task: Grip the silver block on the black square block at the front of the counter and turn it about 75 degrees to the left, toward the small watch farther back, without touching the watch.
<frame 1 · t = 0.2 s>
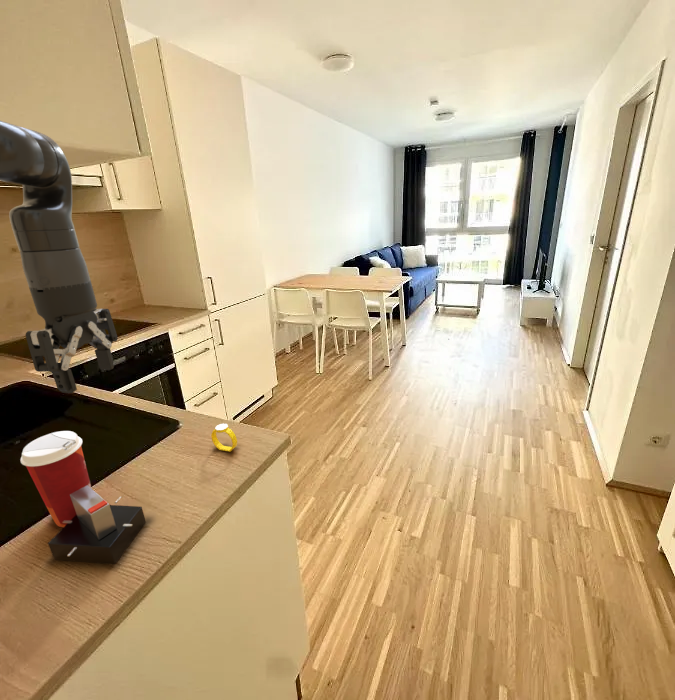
hand: (89, 379, 59), 24 cm above the counter, tool pointing down, fingers open, 8 cm apart
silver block: (92, 510, 56), point 6 cm above the counter, hinge at -30.0°
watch: (226, 450, 81), on the counter
coffee cup: (75, 514, 64), on the counter
black square block: (102, 540, 59), on the counter
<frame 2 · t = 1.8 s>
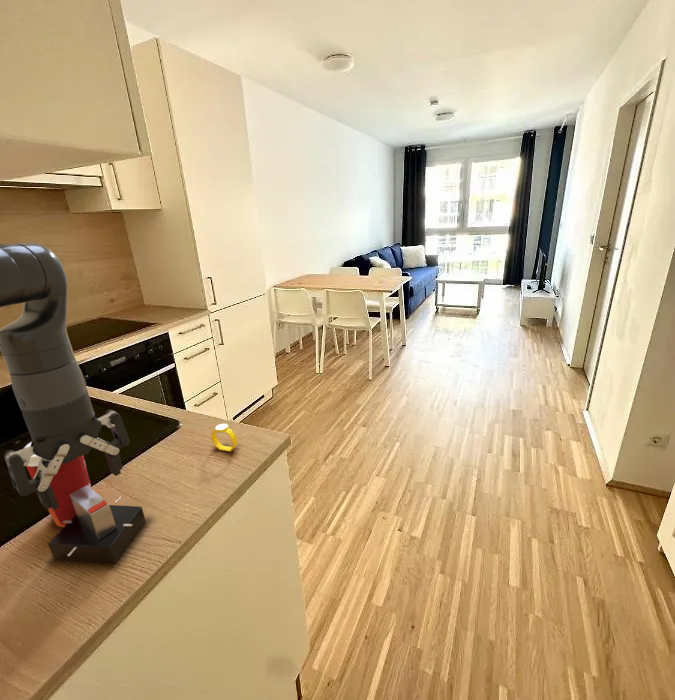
hand: (86, 489, 55), 10 cm above the counter, tool pointing down, fingers open, 8 cm apart
nothing on the counter moved.
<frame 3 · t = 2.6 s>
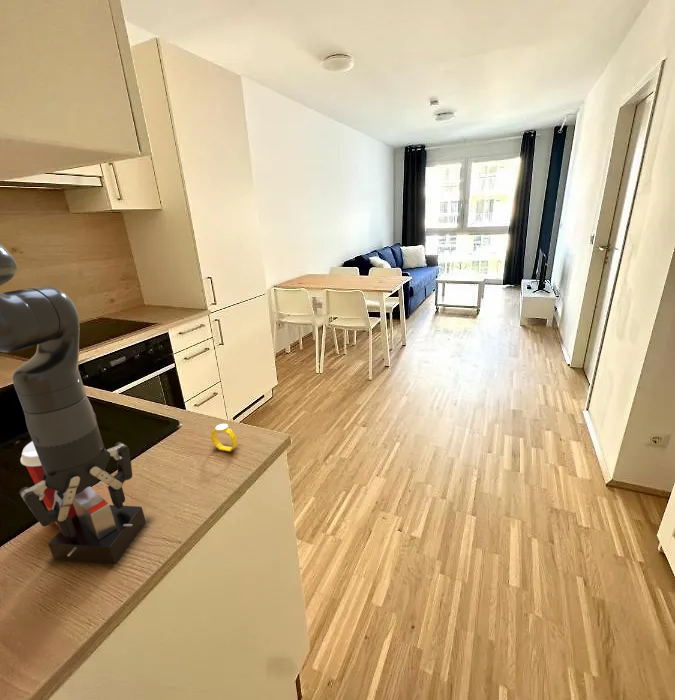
hand: (95, 519, 57), 4 cm above the counter, tool pointing down, fingers open, 6 cm apart
nothing on the counter moved.
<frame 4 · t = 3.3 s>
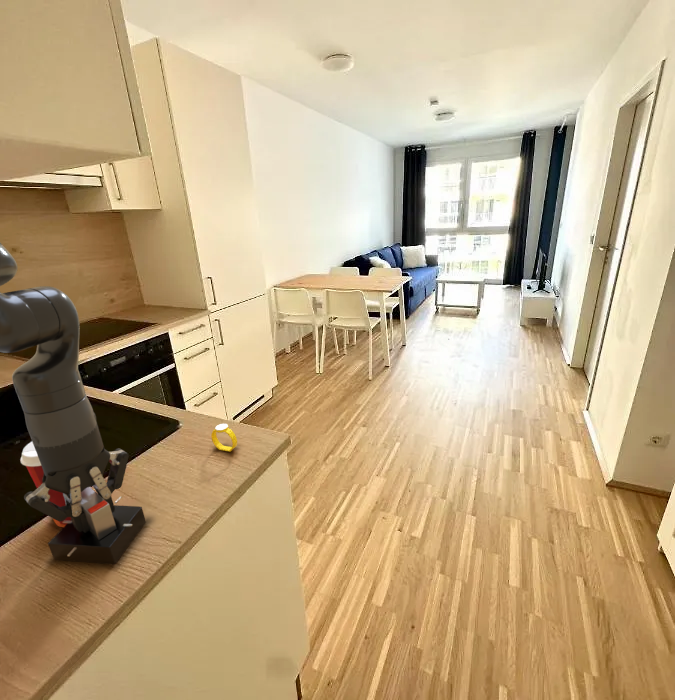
hand: (96, 522, 57), 4 cm above the counter, tool pointing down, fingers closed on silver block, 2 cm apart
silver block: (92, 510, 56), point 6 cm above the counter, hinge at -30.0°, touching gripper
everything else where it was.
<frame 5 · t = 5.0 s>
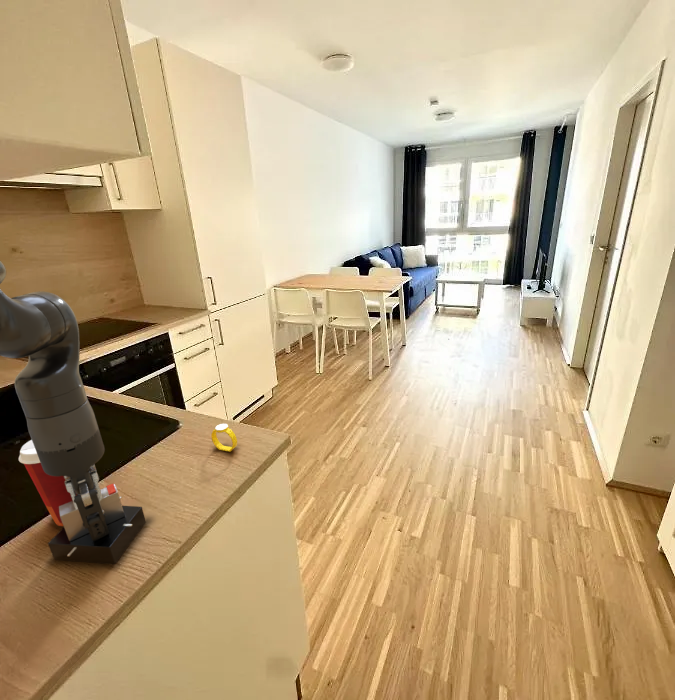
hand: (97, 523, 57), 4 cm above the counter, tool pointing down, fingers open, 6 cm apart
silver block: (92, 510, 56), point 6 cm above the counter, hinge at 44.9°
coffee cup: (75, 514, 64), on the counter, touching hand
everything else where it was.
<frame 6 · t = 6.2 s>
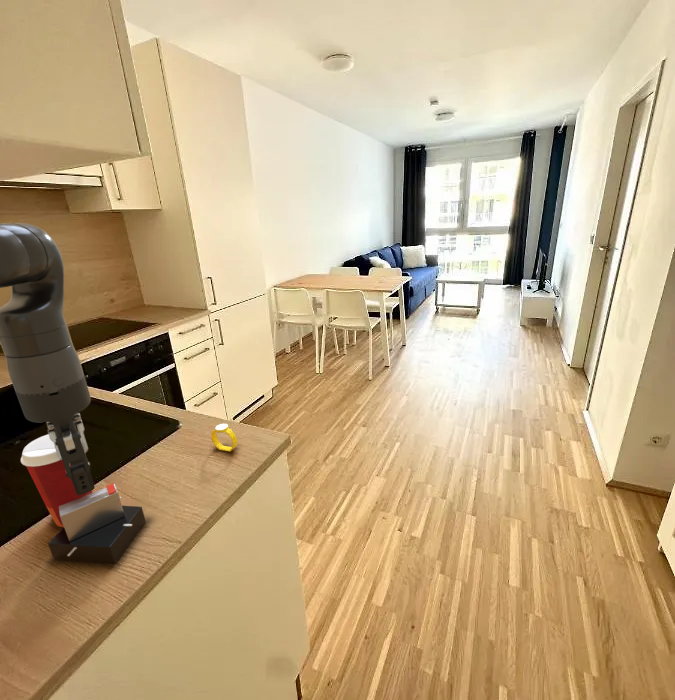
hand: (82, 476, 54), 13 cm above the counter, tool pointing down, fingers open, 8 cm apart
coffee cup: (75, 514, 64), on the counter
everything else where it was.
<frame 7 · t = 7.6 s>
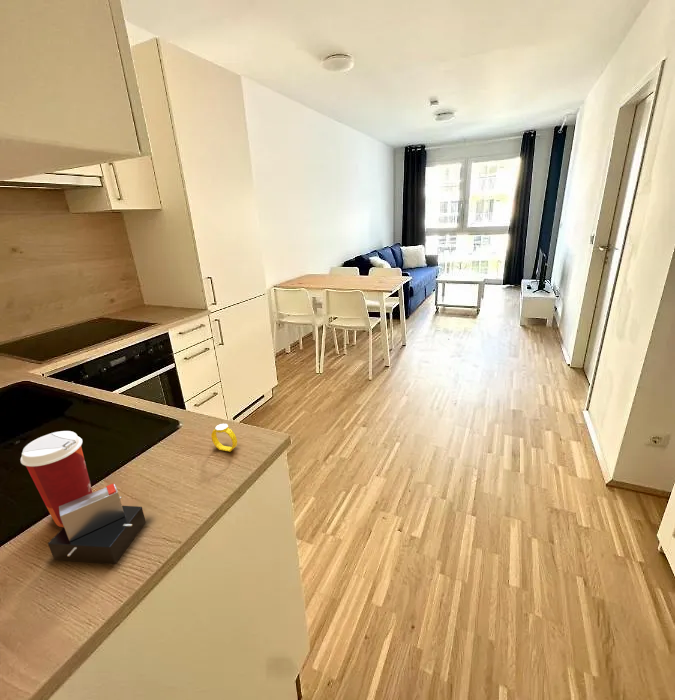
nothing on the counter moved.
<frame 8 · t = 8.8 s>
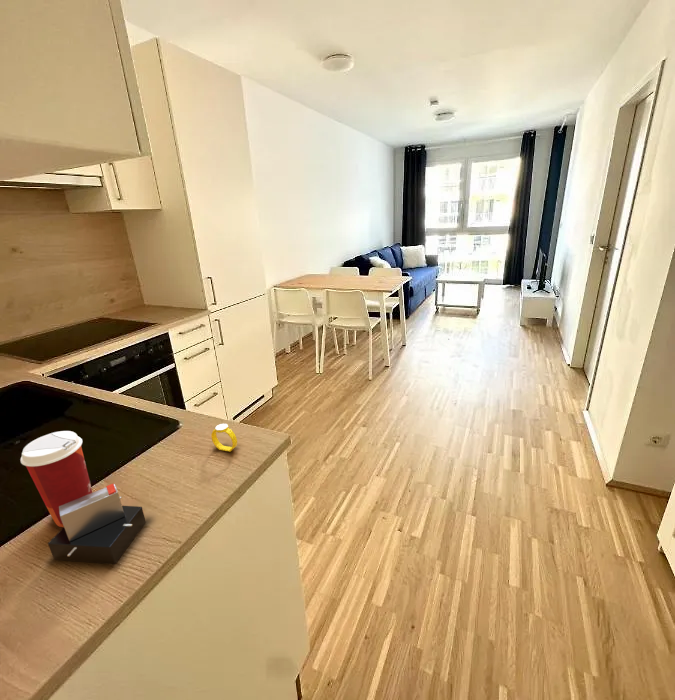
nothing on the counter moved.
at the end: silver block at +45° (first picture: -30°); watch moved 0.2 cm from its start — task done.
